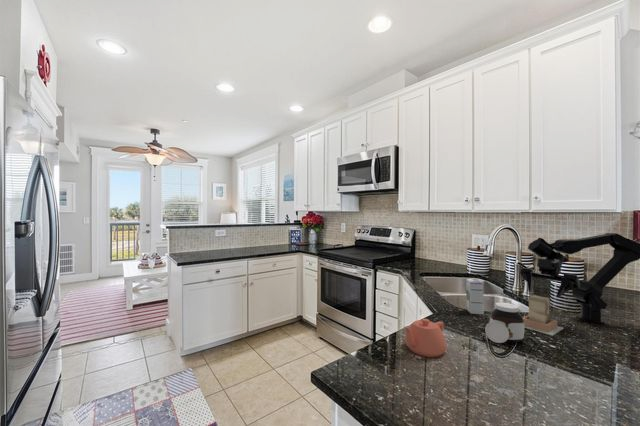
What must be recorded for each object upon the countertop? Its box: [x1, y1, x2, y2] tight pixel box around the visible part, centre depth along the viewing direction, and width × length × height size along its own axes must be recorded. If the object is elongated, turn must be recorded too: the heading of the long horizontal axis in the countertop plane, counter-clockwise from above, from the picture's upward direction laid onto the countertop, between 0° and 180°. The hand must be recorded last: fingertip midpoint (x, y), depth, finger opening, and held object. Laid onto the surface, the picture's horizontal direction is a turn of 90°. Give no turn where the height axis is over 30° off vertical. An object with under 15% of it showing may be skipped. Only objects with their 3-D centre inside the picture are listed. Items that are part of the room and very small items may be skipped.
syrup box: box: [465, 278, 485, 315], centre depth 126 cm, size 6×6×14 cm
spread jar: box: [484, 302, 525, 344], centre depth 97 cm, size 12×11×12 cm
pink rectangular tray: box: [522, 314, 564, 337], centre depth 110 cm, size 12×12×3 cm
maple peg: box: [528, 294, 550, 324], centre depth 110 cm, size 5×5×11 cm
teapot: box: [403, 318, 448, 358], centre depth 89 cm, size 12×18×10 cm
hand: (543, 294), depth 112 cm, fingers open, 9 cm apart
